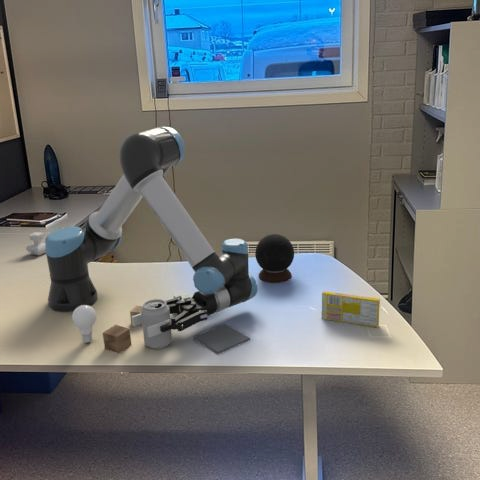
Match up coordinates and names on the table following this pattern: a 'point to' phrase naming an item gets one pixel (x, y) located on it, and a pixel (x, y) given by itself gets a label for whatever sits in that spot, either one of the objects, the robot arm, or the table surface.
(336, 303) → the candy box
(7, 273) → the table surface
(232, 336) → the coaster
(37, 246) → the stamp
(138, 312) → the oak block
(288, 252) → the black ball on stand
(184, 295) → the sage block
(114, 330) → the walnut block
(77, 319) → the lightbulb
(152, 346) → the can
